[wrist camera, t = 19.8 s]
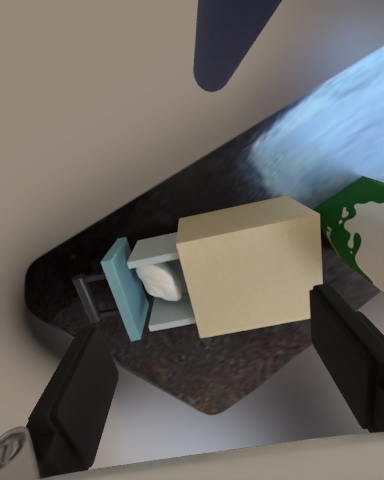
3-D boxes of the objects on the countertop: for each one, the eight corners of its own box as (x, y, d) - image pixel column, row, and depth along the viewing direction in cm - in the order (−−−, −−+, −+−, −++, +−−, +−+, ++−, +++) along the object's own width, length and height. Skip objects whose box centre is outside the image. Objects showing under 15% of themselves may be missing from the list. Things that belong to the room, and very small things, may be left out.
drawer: (107, 312, 36) (89, 349, 30) (79, 246, 33) (53, 271, 26) (228, 289, 35) (237, 321, 29) (214, 217, 32) (221, 236, 25)
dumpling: (190, 276, 33) (187, 305, 31) (153, 278, 35) (148, 307, 32) (171, 246, 28) (166, 280, 25) (128, 251, 29) (120, 284, 27)
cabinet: (197, 295, 37) (200, 338, 29) (178, 218, 32) (175, 244, 24) (293, 276, 36) (324, 316, 28) (286, 195, 32) (320, 213, 24)
